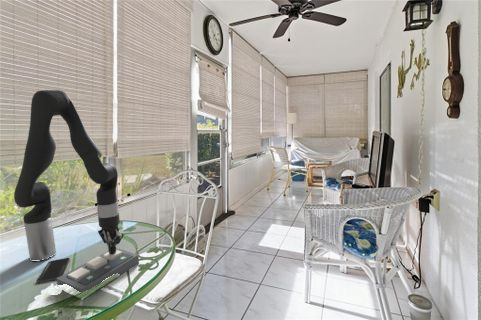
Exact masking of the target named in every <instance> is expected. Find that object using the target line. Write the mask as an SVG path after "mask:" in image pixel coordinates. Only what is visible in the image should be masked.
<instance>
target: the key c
mask: <svg viewBox="0 0 481 320" xmlns="http://www.w3.org/2000/svg"><path fill="white" fill-rule="evenodd" d="M106 252H107V253H106ZM106 252H105V253H106V254H104V253H103V254H104V255H103V258H105V259H107V260H110V261H112V260H114V259H116V258H118V257H119V256H121V255H122V252H121V251H118V250H116V253H114V254H113V255H112V254H109V252H108V251H106Z"/></svg>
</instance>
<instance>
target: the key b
mask: <svg viewBox="0 0 481 320" xmlns="http://www.w3.org/2000/svg"><path fill="white" fill-rule="evenodd" d="M99 256H100V255H98V256H96V257H94V258H93V259H91V260H89V261H86V262H85V263H86V264H87V268H90V269H92V270H97V269H98V268H100V267H102V266H104V265H105V264H107V259H105V258H102V257H99Z"/></svg>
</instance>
